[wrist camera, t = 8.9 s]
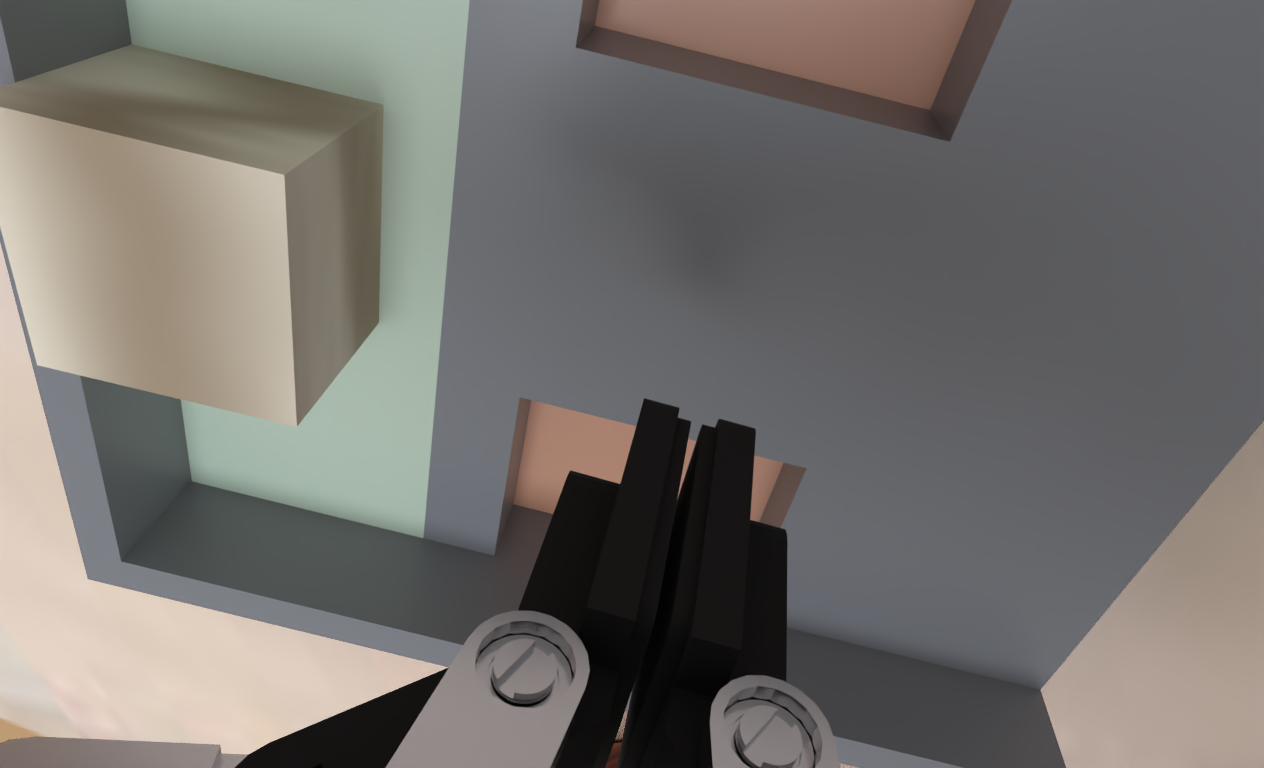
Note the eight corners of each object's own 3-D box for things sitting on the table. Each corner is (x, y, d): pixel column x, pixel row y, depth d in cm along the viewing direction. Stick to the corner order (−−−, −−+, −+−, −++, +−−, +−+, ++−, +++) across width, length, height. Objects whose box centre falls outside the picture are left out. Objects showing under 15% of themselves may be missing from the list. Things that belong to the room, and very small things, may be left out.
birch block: (384, 105, 16) (284, 175, 12) (378, 323, 19) (296, 427, 15) (131, 44, 16) (-34, 98, 12) (165, 272, 19) (36, 364, 15)
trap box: (1594, -165, 13) (2027, -167, 9) (1001, 639, 25) (1054, 815, 21) (93, -552, 13) (-261, -761, 8) (210, 444, 25) (88, 579, 20)
